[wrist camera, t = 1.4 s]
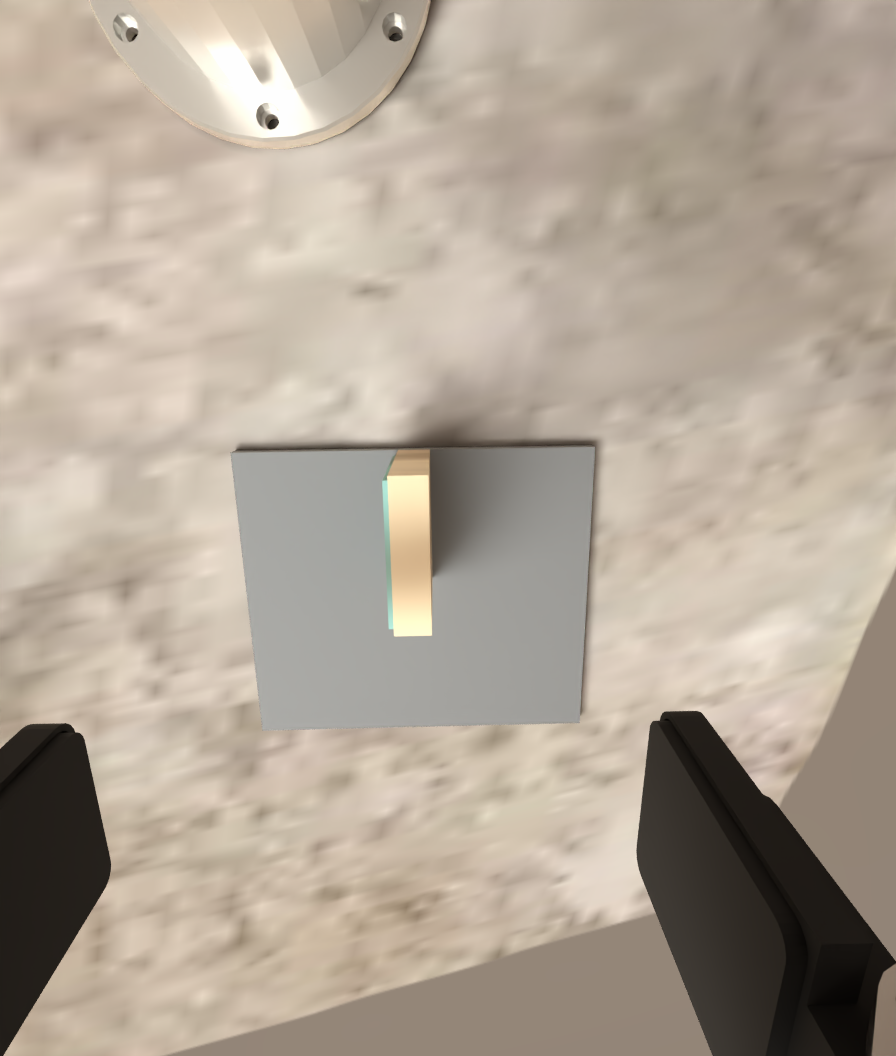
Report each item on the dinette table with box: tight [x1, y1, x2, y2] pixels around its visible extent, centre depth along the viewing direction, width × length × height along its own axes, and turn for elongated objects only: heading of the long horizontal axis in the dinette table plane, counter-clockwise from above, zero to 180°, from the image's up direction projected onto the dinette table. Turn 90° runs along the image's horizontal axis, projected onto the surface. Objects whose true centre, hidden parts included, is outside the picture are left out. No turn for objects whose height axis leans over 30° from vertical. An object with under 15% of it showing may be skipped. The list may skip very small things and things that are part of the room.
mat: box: [231, 445, 595, 731], centre depth 28 cm, size 14×16×1 cm
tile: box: [382, 450, 433, 636], centre depth 24 cm, size 6×2×6 cm, turn 1°
